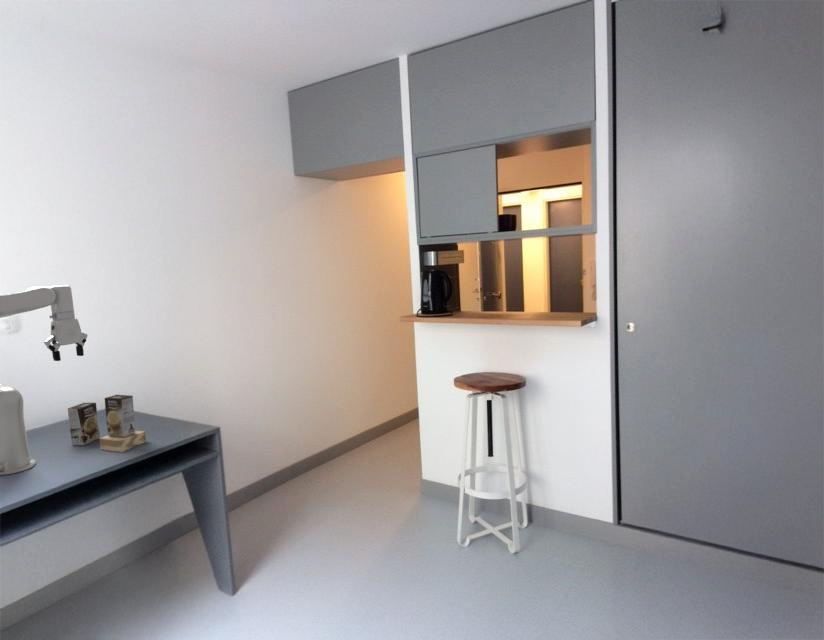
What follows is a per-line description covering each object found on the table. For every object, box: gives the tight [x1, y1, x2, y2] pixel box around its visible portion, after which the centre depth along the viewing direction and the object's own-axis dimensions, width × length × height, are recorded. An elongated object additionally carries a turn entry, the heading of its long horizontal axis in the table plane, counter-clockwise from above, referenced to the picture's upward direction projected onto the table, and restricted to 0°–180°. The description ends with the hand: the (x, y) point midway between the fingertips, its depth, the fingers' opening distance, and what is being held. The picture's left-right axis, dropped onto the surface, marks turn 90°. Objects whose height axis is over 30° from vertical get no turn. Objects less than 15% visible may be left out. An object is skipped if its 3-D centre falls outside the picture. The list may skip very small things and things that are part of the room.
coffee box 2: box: [104, 394, 136, 437], centre depth 220 cm, size 9×6×16 cm
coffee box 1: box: [67, 402, 101, 446], centre depth 227 cm, size 9×6×16 cm
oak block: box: [98, 429, 147, 453], centre depth 221 cm, size 12×12×5 cm
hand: (69, 358), depth 214 cm, fingers open, 9 cm apart
